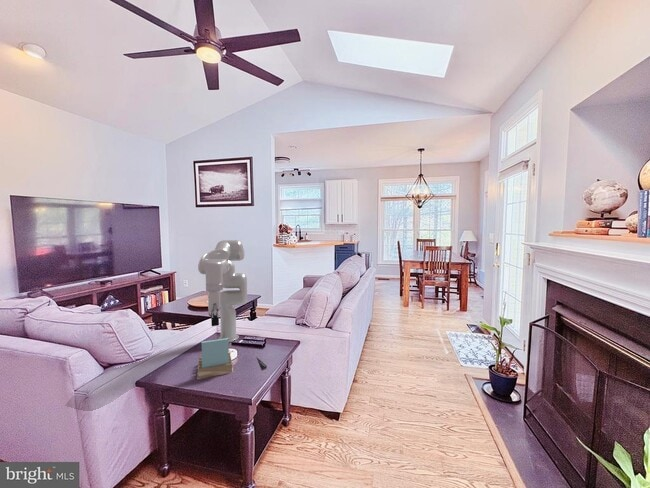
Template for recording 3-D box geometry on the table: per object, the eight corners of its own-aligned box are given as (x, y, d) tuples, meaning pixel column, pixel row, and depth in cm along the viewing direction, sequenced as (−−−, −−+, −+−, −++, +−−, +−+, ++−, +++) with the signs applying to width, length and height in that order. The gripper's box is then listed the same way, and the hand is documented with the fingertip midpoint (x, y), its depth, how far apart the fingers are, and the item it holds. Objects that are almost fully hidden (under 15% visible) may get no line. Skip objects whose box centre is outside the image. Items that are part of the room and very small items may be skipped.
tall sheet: (202, 374, 132) (201, 341, 132) (228, 369, 137) (228, 337, 136) (202, 376, 131) (201, 342, 130) (228, 371, 136) (228, 339, 135)
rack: (198, 367, 142) (197, 357, 142) (230, 361, 148) (230, 351, 148) (197, 381, 128) (196, 370, 128) (233, 374, 134) (233, 364, 134)
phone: (255, 356, 153) (267, 366, 141) (255, 358, 153) (267, 368, 141) (241, 360, 148) (252, 371, 136) (241, 362, 148) (252, 373, 136)
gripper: (205, 284, 138) (206, 317, 140) (205, 291, 123) (206, 329, 124) (221, 283, 141) (222, 316, 142) (223, 290, 126) (224, 327, 127)
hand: (214, 322), depth 133 cm, fingers open, 9 cm apart
